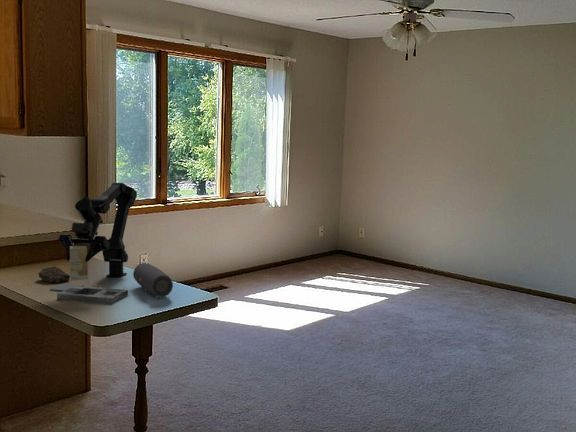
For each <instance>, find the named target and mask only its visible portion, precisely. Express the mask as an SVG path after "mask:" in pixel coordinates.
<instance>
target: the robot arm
mask: <svg viewBox="0 0 576 432" xmlns="http://www.w3.org/2000/svg"><path fill="white" fill-rule="evenodd" d="M137 197H138V193H137V190H135V188H134V187H131V186H130V185H126V184H125V183H124V182H113V183H112V182H111V185H110V186H109V187H108V188H107V189H106V190H104V192H103V193H102V194H100V195H98V196H94V197H92V198H90V197H87V196H83V198H82V199H80V200H78V201H77V202H76V203H75V205H74V208H75V210H76V211H77V214H79V216H80V217H81V219H84V220H83V223H82V222H72V223H71V224H72V225H71V230H70V231H71V232H73V233H74V236H75V237H73V236H72V235H71V234H70V233H69V234H68V233H61V234H60V235H59V236H58V238H57V240H58V242H59V243H60V244H61V245H62V247H64V248H65V249H66V251H65V253H66V257H65V258H66V261H67V262H70V246H76V244H78V245H80V244H81V245H89V249H88V250H87V256H86V259H85V261H86V262H87V263H88V262H89V261H90V260H92V259H93V258H94V257H95V256H96V255H97V254H99V253H100V252H102V258H103V261H104V263H107V262H108V274H106V275H105V276H106V277H109V278H122V277H124V276H126V275H127V274H128V273H127V272H124V263H128V260H129V254H128V253H127V252H126V250H125V248H126V247H125V244H124V241H123V239H124V235H125V230H126V225H127V220H128V218H129V217H128V216H129V211H130V209H131V208H132V207H133V206H134V204H135V202H136V199H137ZM113 201H115V202H116V204H117V207H116V208H117V209H116V212H115V217H114V221H113V226H112V231H111V235H110V238H106V236H105V235H98V233H99V232H98V229H99V226H100V224H104V221H103V218H102V216H101V215H105V214H107V213H108V211H109V210H110V208H111V207H110V206H111V205H110V204H112V202H113Z"/></svg>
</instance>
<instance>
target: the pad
mask: <svg viewBox="0 0 576 432" xmlns="http://www.w3.org/2000/svg"><path fill="white" fill-rule="evenodd" d="M74 286H85V285H84V284H77V283H67V282H62V283H61V284H60V283H59V285H58V284H57V285H56V286H54V287H50V288H49V291H52V292H62V291H65V290H67V289H69V288H71V287H74Z"/></svg>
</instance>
